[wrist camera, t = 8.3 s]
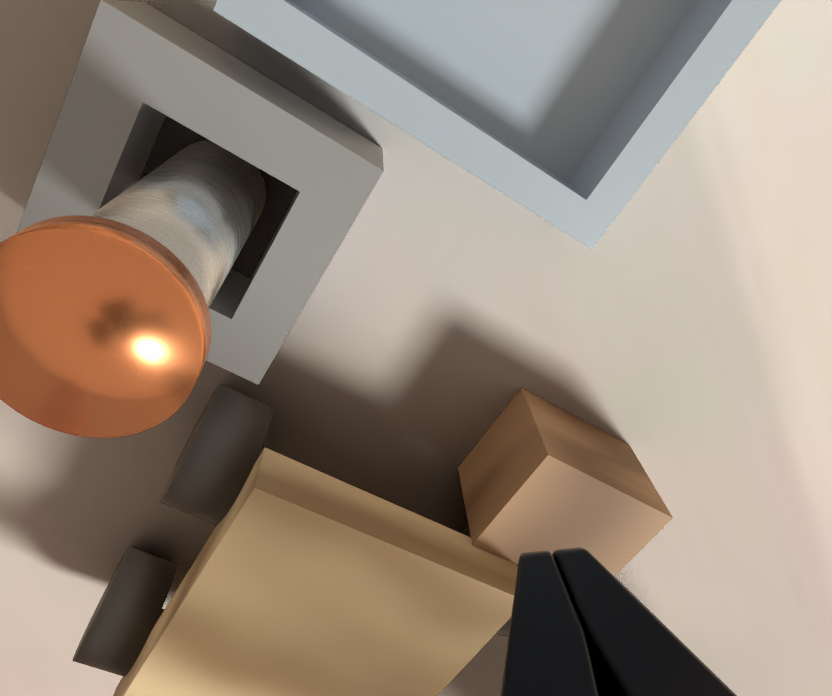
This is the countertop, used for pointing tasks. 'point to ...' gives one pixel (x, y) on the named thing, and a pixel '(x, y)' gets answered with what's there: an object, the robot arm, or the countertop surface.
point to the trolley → (294, 583)
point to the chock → (557, 487)
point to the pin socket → (225, 126)
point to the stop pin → (123, 296)
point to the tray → (523, 83)
